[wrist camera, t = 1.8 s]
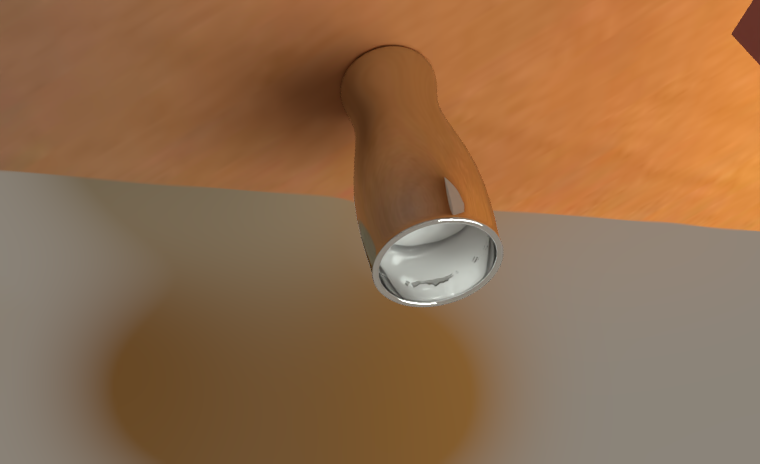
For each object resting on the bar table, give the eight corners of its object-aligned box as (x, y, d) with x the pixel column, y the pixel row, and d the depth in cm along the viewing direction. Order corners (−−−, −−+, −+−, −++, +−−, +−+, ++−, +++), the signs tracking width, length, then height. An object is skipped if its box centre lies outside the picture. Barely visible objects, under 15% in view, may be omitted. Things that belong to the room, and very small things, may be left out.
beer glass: (346, 30, 42) (389, 210, 32) (457, 47, 44) (530, 221, 34) (322, 124, 46) (353, 307, 36) (423, 136, 48) (478, 312, 38)
